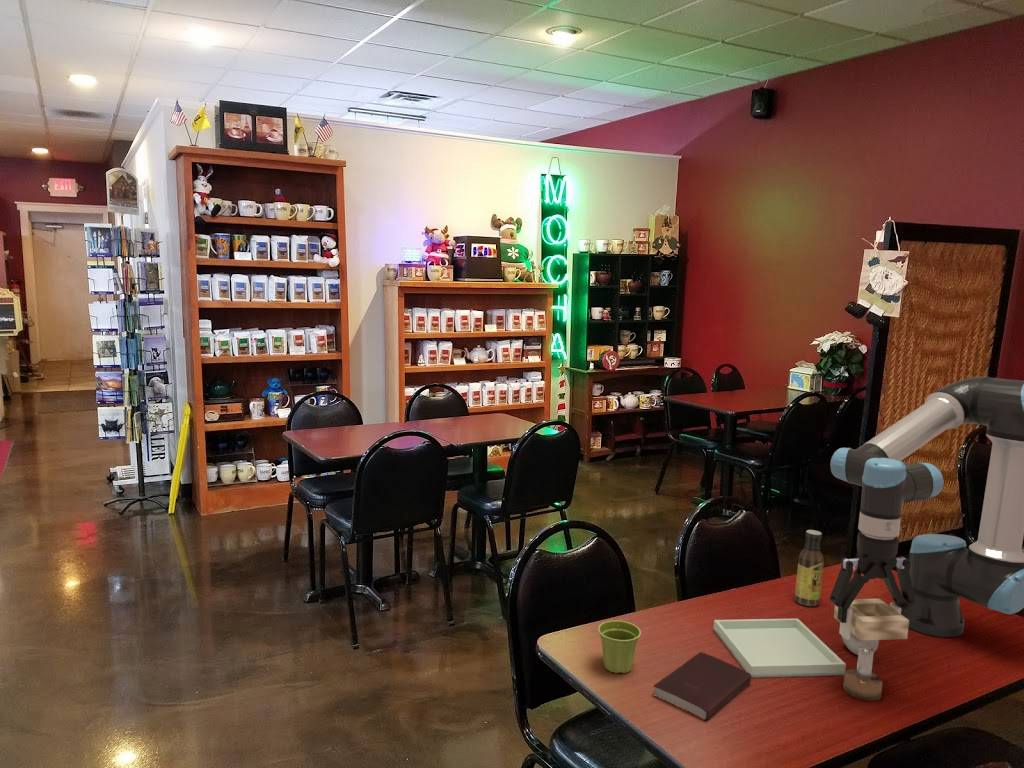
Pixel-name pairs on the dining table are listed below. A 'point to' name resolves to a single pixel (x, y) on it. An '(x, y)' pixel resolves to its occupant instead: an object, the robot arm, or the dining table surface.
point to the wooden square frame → (876, 620)
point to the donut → (859, 643)
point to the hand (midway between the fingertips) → (868, 635)
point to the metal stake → (863, 678)
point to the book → (703, 685)
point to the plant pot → (618, 644)
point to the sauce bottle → (810, 570)
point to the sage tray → (778, 648)
